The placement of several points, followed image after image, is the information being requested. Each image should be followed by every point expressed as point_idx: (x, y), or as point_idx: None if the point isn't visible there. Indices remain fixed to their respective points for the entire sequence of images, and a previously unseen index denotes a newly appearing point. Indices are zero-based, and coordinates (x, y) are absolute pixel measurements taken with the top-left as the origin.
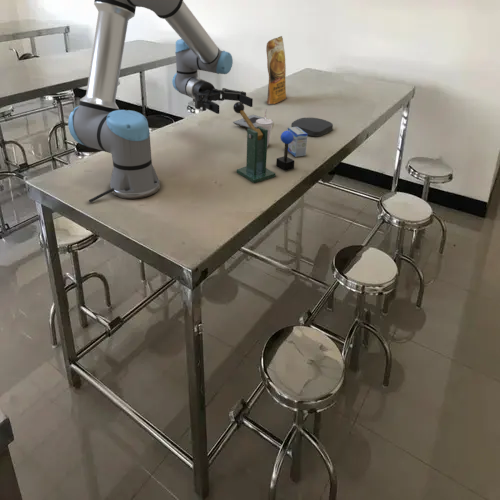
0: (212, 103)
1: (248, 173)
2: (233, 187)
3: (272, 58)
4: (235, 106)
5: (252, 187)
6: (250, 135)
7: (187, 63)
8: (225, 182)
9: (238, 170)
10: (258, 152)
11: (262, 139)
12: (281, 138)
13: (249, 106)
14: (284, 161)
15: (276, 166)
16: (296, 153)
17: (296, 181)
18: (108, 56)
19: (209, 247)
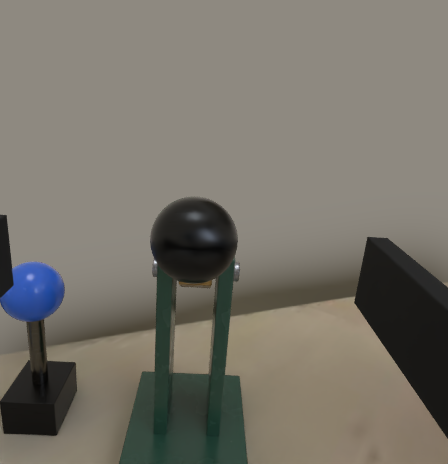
0: (427, 272)
1: (227, 414)
2: (319, 399)
3: None
4: (233, 223)
5: (260, 372)
6: (238, 264)
7: None
8: (333, 438)
9: (246, 457)
10: (170, 357)
11: (175, 283)
12: (61, 295)
13: (4, 293)
14: (63, 371)
15: (57, 432)
16: None
17: (119, 339)
18: None
19: None
